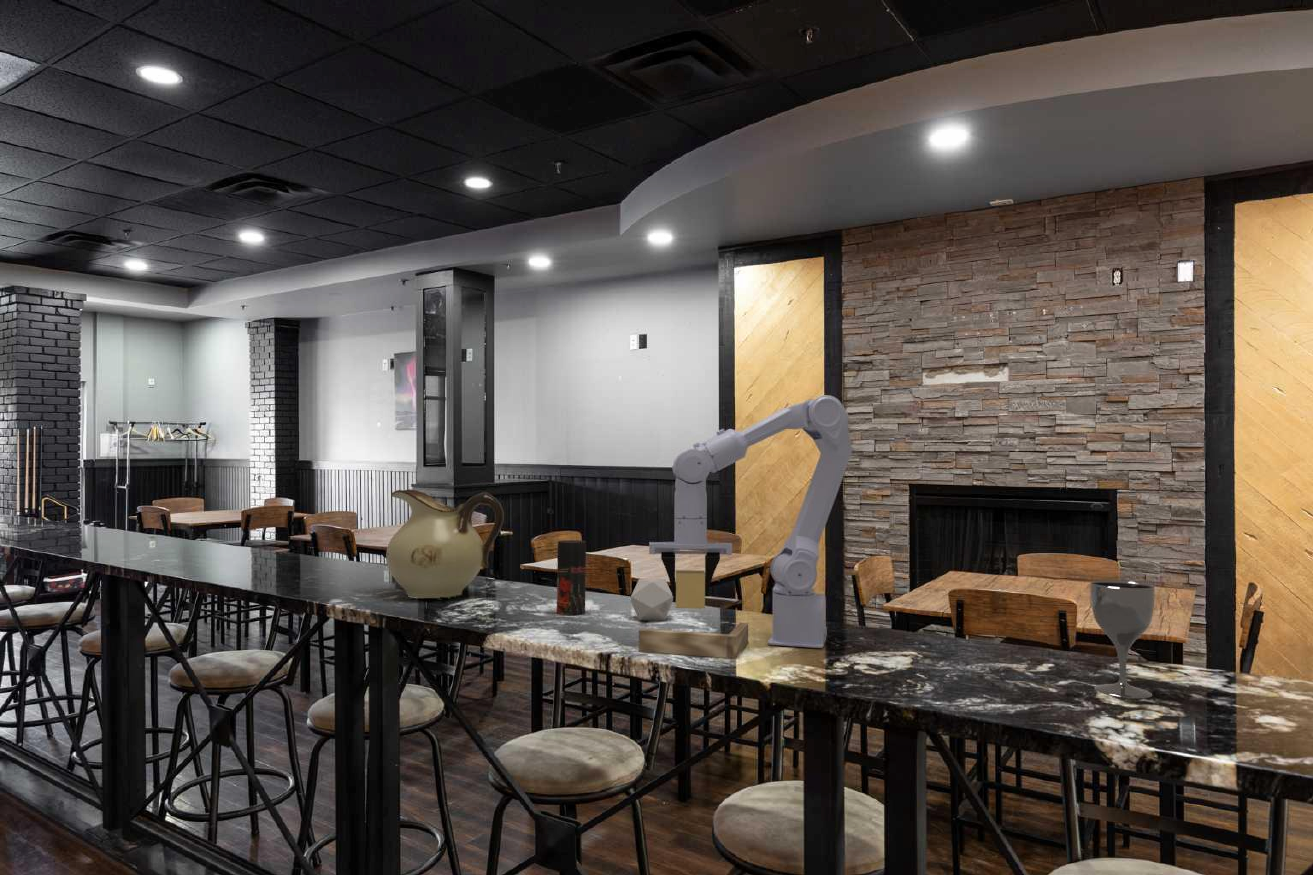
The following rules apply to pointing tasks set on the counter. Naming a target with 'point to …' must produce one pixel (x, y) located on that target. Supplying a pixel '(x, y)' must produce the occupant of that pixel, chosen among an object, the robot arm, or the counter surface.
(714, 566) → the robot arm
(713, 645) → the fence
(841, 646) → the counter surface
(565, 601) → the deodorant
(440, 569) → the pitcher
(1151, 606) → the wine glass
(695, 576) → the block
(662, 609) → the die
